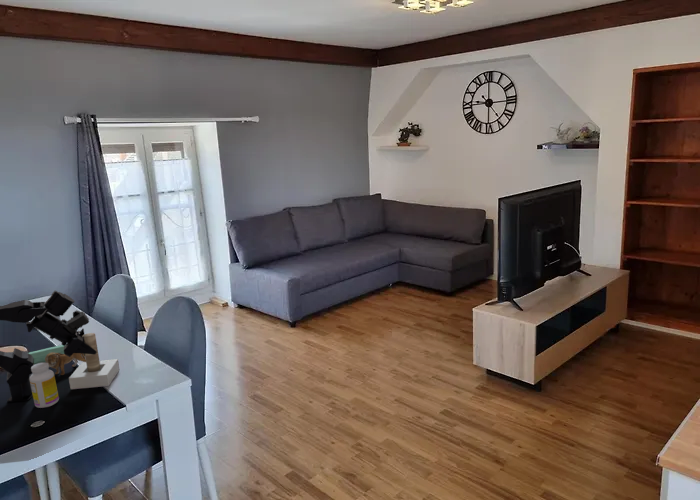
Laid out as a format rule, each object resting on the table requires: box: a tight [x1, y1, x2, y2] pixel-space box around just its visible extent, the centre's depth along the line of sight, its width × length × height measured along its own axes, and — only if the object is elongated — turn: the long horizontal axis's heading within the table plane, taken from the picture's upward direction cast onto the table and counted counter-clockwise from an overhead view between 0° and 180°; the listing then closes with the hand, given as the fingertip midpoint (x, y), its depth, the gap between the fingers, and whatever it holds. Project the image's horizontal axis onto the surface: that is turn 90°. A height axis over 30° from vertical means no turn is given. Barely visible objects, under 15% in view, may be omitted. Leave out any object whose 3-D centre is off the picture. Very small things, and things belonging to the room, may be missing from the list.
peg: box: [82, 332, 101, 372], centre depth 173 cm, size 4×4×12 cm
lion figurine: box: [45, 352, 86, 376], centre depth 182 cm, size 15×5×9 cm, turn 153°
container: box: [28, 345, 64, 365], centre depth 193 cm, size 6×6×25 cm
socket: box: [68, 358, 120, 390], centre depth 175 cm, size 12×12×4 cm
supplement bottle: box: [29, 362, 60, 409], centre depth 159 cm, size 7×7×13 cm
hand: (95, 350), depth 173 cm, fingers closed on peg, 4 cm apart
